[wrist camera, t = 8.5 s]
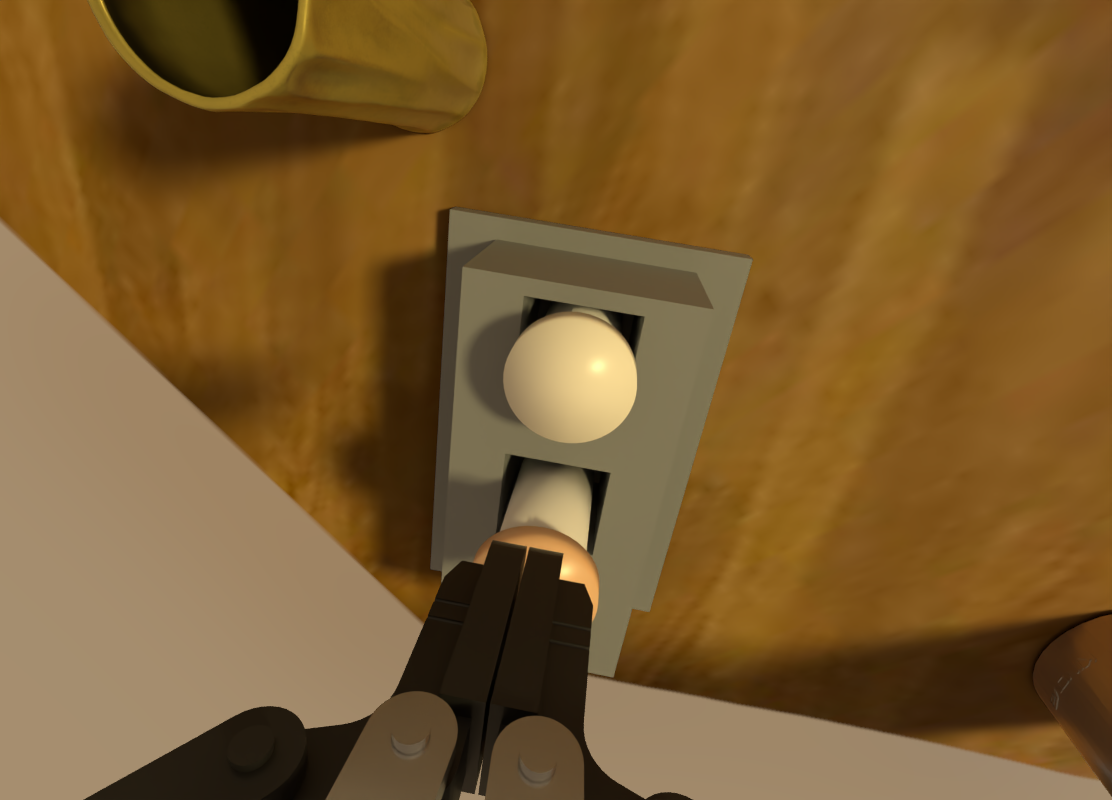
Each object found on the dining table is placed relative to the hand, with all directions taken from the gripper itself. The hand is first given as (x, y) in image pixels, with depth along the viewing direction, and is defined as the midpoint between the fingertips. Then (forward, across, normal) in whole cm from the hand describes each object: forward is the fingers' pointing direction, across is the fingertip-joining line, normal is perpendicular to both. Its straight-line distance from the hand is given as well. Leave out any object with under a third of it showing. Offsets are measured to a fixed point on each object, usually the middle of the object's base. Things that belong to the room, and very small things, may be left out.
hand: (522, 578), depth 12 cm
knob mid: (+14, 0, +7) cm, 16 cm away
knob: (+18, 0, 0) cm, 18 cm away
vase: (+19, +9, -10) cm, 23 cm away
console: (+19, 0, +7) cm, 20 cm away
